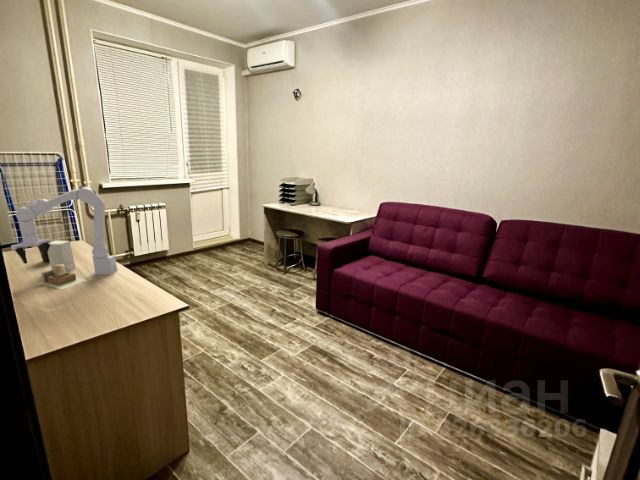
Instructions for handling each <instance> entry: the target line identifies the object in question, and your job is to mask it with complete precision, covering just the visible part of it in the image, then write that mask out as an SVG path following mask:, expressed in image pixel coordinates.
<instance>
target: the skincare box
mask: <svg viewBox="0 0 640 480" xmlns="http://www.w3.org/2000/svg"><path fill="white" fill-rule="evenodd" d="M52 241H53V242H51V243H49V244H50V247H49V249H48V256H49V260H50V262H49V264H50V267H51V270H53V269H54V265H58V264H64V266H65V267H66V270H67V272H70V271H72V270H74V269H76V264H75V259H74V254H73V250H72V245H71V241H70V240H58V239H57V240H52Z"/></svg>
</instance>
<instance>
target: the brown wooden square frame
mask: <svg viewBox="0 0 640 480" xmlns="http://www.w3.org/2000/svg"><path fill="white" fill-rule="evenodd" d="M65 272H66V271H65ZM76 277H77V275H76V273H74V272H70V271H68V272H66V276H63V277H60V278H57V277H56V276H55V274H53V275H50V276H47V282H48V283H51V284H55V285H58V286H59V285H62V284H65V283H68V282H71V281H73V280H76Z"/></svg>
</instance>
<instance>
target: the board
mask: <svg viewBox="0 0 640 480" xmlns="http://www.w3.org/2000/svg"><path fill="white" fill-rule="evenodd" d="M84 282H88V279H84V278H81V277H77V276H76V280H73V281H71V282H68V283H65V284H62V285H59V286H58V285H55V284H51V283H43V282H42V283H41V282H40V284H41V285H44V286H48V287H51V288H54V289H58V290H64V289H67V288H70V287H72V286H75V285H78V284H81V283H84Z"/></svg>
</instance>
